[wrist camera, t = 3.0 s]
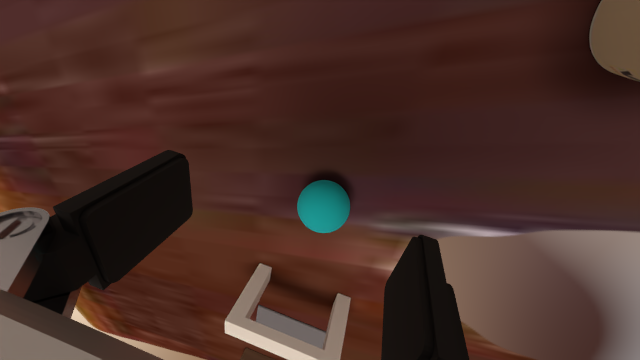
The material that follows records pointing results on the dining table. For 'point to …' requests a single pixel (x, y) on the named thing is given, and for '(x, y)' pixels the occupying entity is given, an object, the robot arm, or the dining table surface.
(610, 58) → the coffee cup
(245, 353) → the stopper wall
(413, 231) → the dining table surface
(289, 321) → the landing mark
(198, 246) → the dining table surface
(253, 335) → the bridge
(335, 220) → the ball
